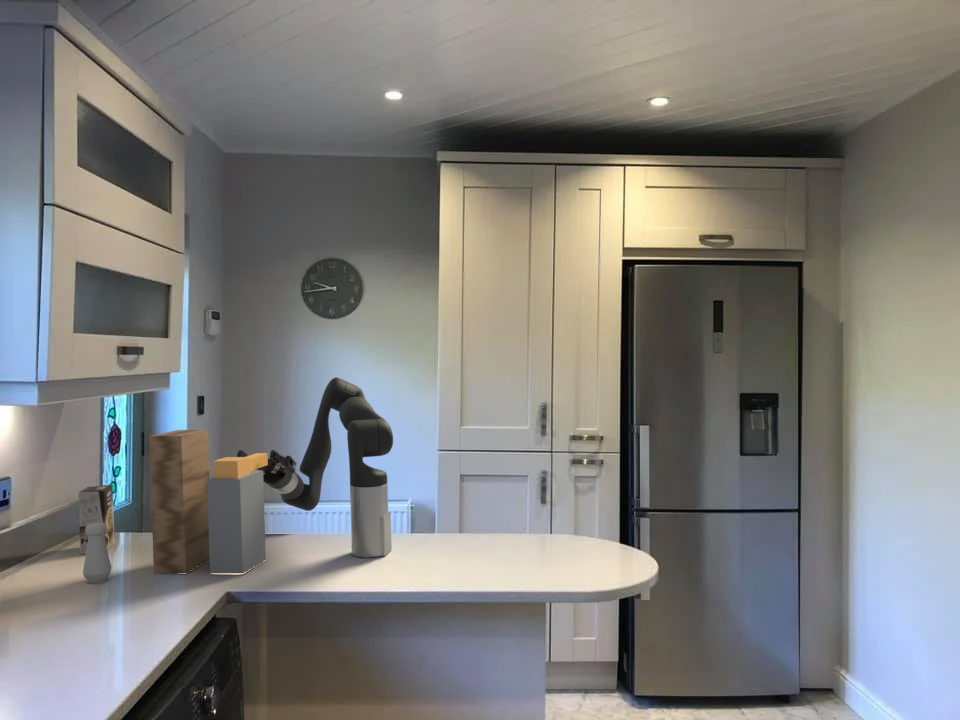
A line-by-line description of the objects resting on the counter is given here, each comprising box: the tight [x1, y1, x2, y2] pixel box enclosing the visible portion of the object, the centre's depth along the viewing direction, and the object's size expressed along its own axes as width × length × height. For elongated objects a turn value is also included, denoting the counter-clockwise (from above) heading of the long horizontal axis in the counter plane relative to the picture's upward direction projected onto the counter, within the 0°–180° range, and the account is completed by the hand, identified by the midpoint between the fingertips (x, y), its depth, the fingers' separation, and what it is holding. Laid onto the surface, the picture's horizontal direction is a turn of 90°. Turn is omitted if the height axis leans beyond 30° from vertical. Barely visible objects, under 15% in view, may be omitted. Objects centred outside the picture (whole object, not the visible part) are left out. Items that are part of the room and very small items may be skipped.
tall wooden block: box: [148, 429, 211, 574], centre depth 177 cm, size 8×12×32 cm, turn 171°
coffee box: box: [78, 484, 115, 555], centre depth 195 cm, size 9×6×16 cm
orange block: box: [212, 452, 269, 479], centre depth 180 cm, size 6×19×4 cm, turn 171°
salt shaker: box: [82, 523, 112, 584], centre depth 168 cm, size 6×6×13 cm
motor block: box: [207, 470, 267, 574], centre depth 175 cm, size 8×12×22 cm, turn 171°
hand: (255, 453), depth 186 cm, fingers open, 8 cm apart
